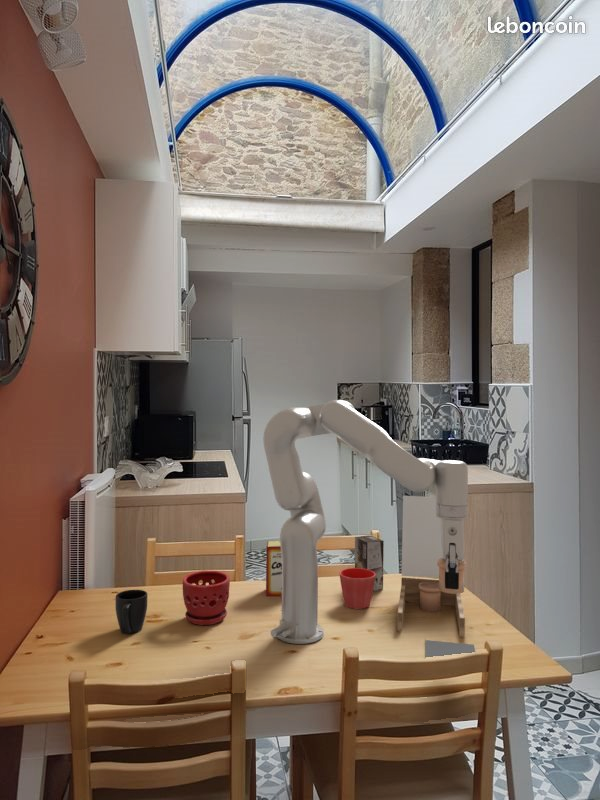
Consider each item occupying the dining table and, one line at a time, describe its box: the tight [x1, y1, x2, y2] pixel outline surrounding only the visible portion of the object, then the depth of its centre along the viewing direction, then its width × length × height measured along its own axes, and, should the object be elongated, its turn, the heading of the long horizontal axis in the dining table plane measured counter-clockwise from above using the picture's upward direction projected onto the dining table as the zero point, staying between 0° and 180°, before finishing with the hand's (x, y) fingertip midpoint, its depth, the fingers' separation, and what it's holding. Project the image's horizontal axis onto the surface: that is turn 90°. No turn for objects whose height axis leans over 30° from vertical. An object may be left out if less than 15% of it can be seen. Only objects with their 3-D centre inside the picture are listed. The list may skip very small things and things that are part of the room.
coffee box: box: [354, 534, 385, 591], centre depth 193 cm, size 9×6×16 cm
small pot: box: [437, 557, 467, 594], centre depth 142 cm, size 7×7×7 cm
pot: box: [419, 582, 441, 613], centre depth 173 cm, size 7×7×7 cm
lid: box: [401, 495, 459, 579], centre depth 183 cm, size 25×17×2 cm
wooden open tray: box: [397, 576, 466, 638], centre depth 166 cm, size 25×17×7 cm
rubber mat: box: [424, 639, 476, 658], centre depth 142 cm, size 12×12×1 cm
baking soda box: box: [265, 540, 282, 597], centre depth 186 cm, size 10×6×16 cm
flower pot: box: [339, 567, 376, 610], centre depth 175 cm, size 11×11×10 cm
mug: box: [115, 589, 148, 635], centre depth 153 cm, size 8×12×10 cm
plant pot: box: [182, 570, 231, 626], centre depth 162 cm, size 13×13×12 cm
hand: (451, 583), depth 142 cm, fingers closed on small pot, 6 cm apart
